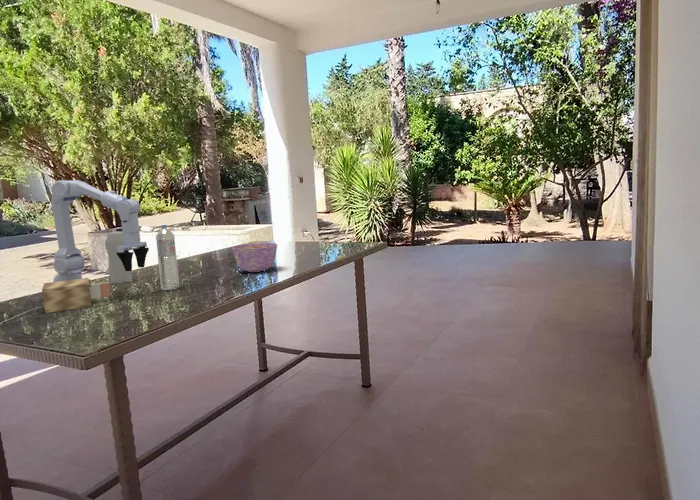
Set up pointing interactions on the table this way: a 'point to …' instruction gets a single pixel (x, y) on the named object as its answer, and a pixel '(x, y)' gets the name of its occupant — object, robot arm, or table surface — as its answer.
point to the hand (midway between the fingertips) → (135, 269)
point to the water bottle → (167, 259)
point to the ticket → (99, 290)
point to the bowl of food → (255, 256)
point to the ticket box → (66, 295)
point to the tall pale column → (116, 259)
